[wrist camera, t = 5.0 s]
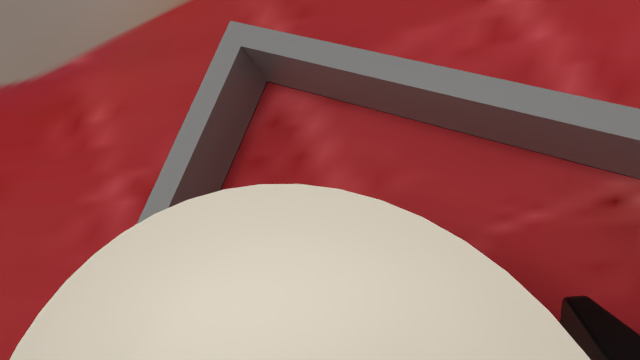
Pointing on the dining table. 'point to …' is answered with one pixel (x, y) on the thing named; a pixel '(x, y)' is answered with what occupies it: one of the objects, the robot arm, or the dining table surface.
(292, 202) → the white pillar candle
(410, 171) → the dining table surface
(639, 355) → the robot arm
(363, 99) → the frame
